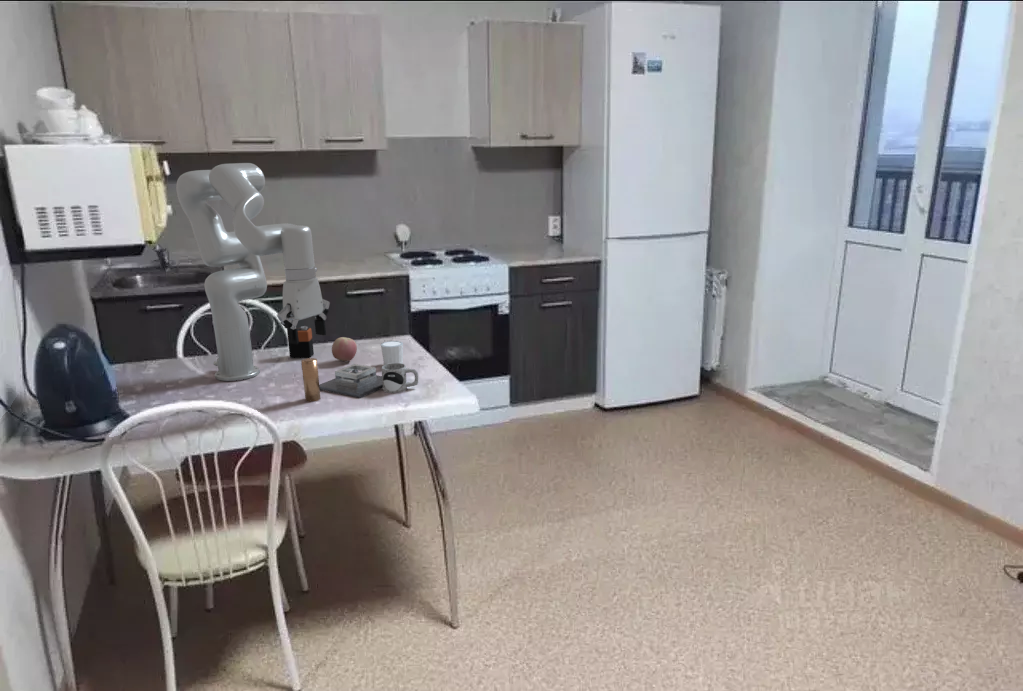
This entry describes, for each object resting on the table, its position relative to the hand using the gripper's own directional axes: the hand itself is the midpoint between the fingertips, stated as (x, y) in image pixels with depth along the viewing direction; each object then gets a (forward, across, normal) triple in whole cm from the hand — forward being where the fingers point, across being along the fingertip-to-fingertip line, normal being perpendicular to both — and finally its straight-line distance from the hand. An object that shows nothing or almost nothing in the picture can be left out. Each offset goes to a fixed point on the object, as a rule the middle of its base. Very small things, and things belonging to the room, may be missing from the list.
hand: (307, 338), depth 186 cm
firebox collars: (+17, -14, +2) cm, 22 cm away
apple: (+17, -30, -17) cm, 38 cm away
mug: (+17, -18, +16) cm, 29 cm away
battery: (+17, -28, -34) cm, 47 cm away
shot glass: (+17, -34, -1) cm, 38 cm away
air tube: (+17, 0, -1) cm, 17 cm away
